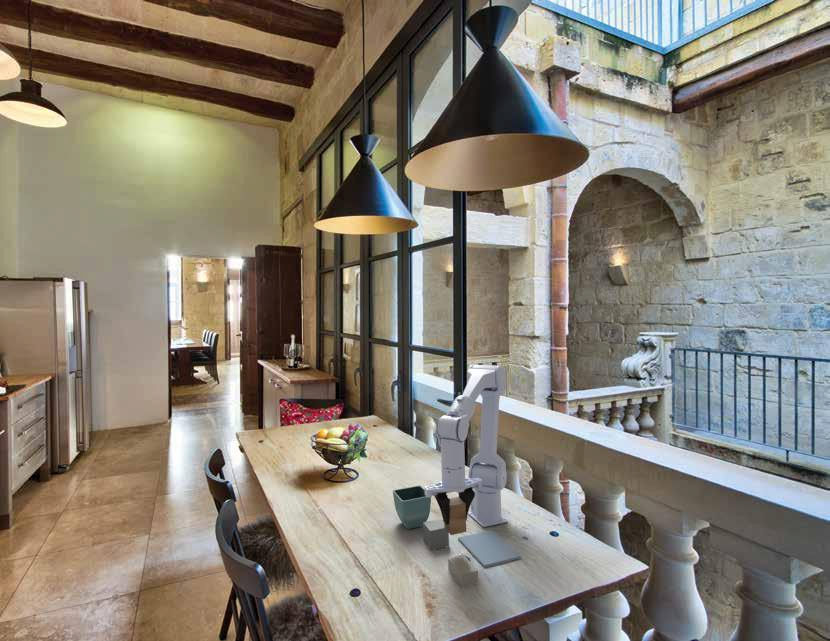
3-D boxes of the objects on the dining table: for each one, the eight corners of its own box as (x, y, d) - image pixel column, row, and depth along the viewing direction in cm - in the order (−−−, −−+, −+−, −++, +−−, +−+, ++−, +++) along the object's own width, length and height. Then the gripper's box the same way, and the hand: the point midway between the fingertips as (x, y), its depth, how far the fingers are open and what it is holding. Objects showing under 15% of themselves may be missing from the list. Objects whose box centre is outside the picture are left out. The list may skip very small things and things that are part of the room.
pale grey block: (448, 571, 103) (448, 558, 103) (464, 567, 104) (463, 554, 104) (461, 588, 96) (461, 574, 96) (478, 584, 98) (477, 570, 98)
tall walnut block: (444, 527, 110) (443, 499, 110) (459, 524, 111) (458, 496, 111) (451, 535, 106) (450, 506, 106) (466, 531, 107) (465, 503, 107)
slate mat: (458, 539, 117) (458, 537, 117) (491, 532, 120) (491, 530, 120) (484, 567, 103) (484, 565, 103) (521, 558, 107) (521, 555, 107)
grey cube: (423, 541, 116) (423, 522, 116) (441, 537, 118) (440, 518, 118) (430, 550, 112) (430, 530, 112) (449, 546, 114) (448, 527, 113)
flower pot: (392, 520, 129) (391, 489, 128) (421, 515, 132) (420, 484, 132) (402, 534, 120) (401, 501, 120) (432, 528, 123) (432, 495, 123)
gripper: (431, 475, 102) (433, 534, 102) (487, 466, 107) (489, 522, 107) (420, 465, 109) (422, 521, 109) (474, 457, 114) (475, 510, 114)
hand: (454, 521), depth 109 cm, fingers closed on tall walnut block, 4 cm apart
